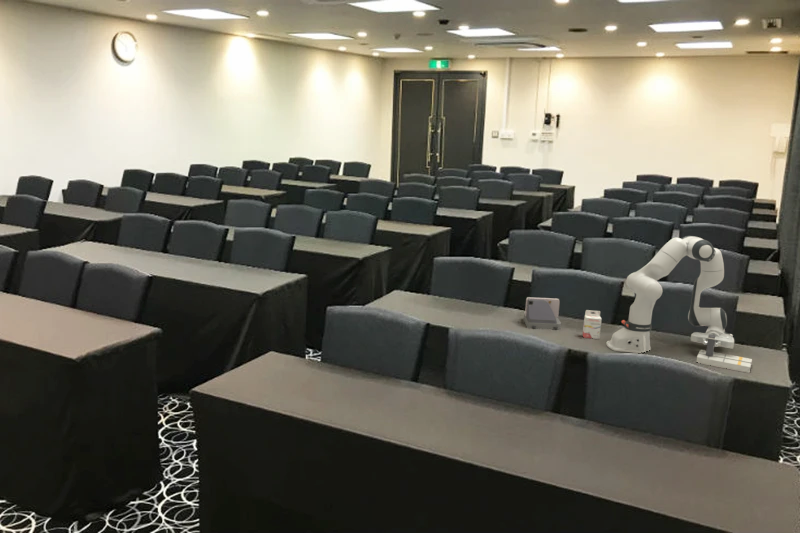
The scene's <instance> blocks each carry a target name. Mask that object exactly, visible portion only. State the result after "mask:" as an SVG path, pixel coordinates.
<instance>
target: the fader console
mask: <svg viewBox="0 0 800 533" xmlns="http://www.w3.org/2000/svg"><path fill="white" fill-rule="evenodd" d="M706 350H707V349H706ZM706 350H705V349H701V348H700V350H699V352H698V354H697V356H696V361H695V362H698V363H697V364H700V363H701V364H700V365H706V366H710V365H711V366H712V367H717V368H722V369H726V368H727V369H726V370H732V371H736V372H742V373H747V374H750V372H751V367H752V362H753V359H752V358H748V357H743V356H737V355H733V354H727V353H721V352H715V351H713V352H714V353H713V356H708V355H706ZM711 366H710V367H711Z"/></svg>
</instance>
